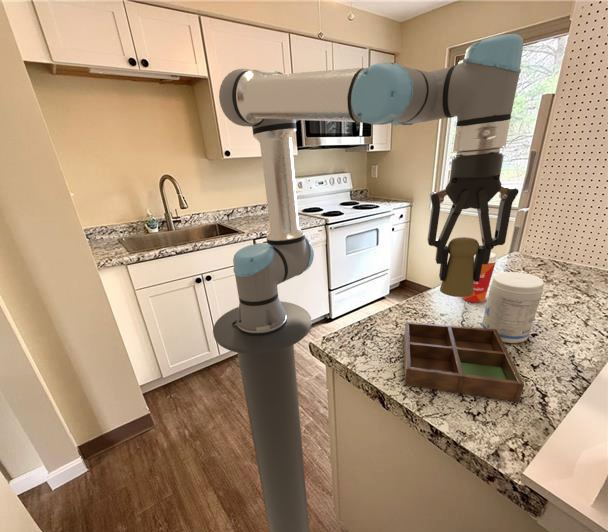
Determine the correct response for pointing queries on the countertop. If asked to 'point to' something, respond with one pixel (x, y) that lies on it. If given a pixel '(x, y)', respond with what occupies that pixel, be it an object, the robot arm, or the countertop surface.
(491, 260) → the paper cup
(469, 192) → the robot arm
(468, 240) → the cork
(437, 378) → the grid
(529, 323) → the supplement tub
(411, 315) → the countertop surface
